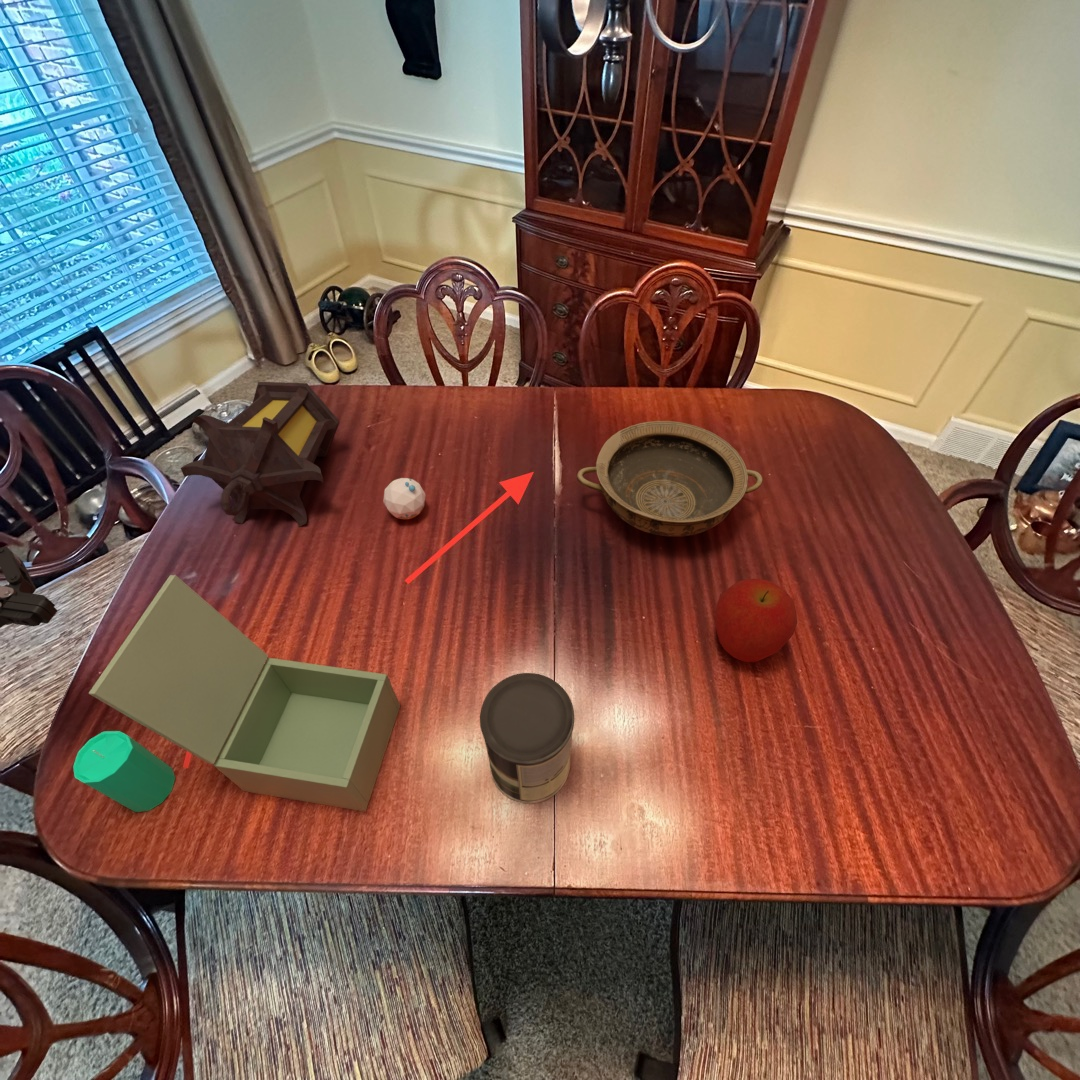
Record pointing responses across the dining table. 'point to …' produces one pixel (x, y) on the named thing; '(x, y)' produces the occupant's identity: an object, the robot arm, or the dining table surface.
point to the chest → (311, 734)
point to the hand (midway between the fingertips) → (48, 611)
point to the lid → (182, 671)
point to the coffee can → (528, 736)
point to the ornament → (404, 498)
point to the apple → (754, 619)
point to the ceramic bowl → (670, 477)
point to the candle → (124, 771)
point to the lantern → (267, 450)
